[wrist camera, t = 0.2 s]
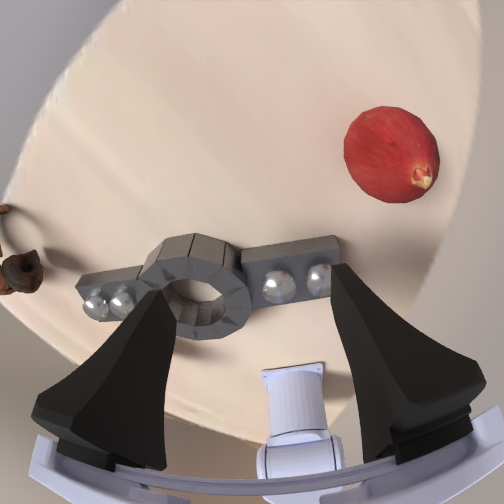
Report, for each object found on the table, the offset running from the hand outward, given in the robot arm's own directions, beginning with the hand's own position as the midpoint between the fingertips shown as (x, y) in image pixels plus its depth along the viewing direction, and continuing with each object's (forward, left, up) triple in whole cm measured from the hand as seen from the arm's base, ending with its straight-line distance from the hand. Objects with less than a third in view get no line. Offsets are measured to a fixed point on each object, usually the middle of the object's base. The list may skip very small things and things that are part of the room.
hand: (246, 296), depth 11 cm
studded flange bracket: (-7, +6, -10) cm, 13 cm away
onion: (+3, -9, -10) cm, 14 cm away
